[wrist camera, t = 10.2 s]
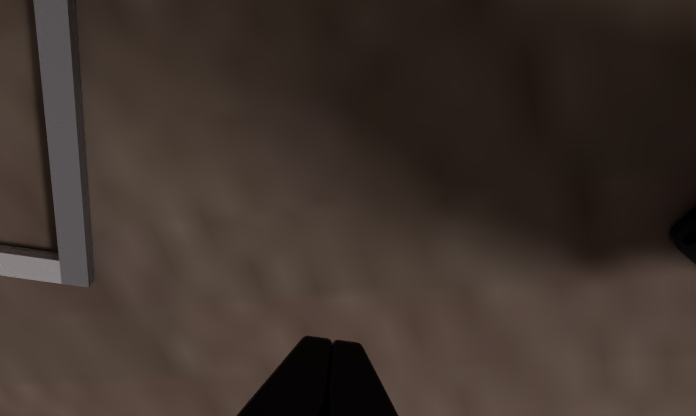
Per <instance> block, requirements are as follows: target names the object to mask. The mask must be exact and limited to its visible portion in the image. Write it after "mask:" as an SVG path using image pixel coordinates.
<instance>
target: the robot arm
mask: <svg viewBox="0 0 696 416" xmlns="http://www.w3.org/2000/svg"><path fill="white" fill-rule="evenodd" d="M688 232H693V233H692V235H691V236H690V237H688V238H686V239H682V237H683V236H684V234H686V233H688ZM669 236H670V239H671V241H672V242H673V243H674V245H675V246H676V247H677V249H679V250H680V251H681V252H682V253H684V254H685V255H686V256H687V257H688V258H690V259H691V260H692V261H693V262H695V263H696V207H695V208H694V209H692V210H691V211H690V212H689V213H688V214H686V215H685V216H684V217H683V218H682V219H680V220H679V221H678V222H677V223H676V224H675V225H674V226H673V227H672V228H671V230H670V233H669ZM237 416H398V414H397V412H396V410H395V408H394V406H393V404H392V402H391V400H390V398H389V397H388V395H387V393H386V391H385V389H384V387H383V385H382V383H381V381H380V379H379V377H378V375H377V373H376V371H375V369H374V368H373V366H372V364H371V362H370V360H369V358H368V356H367V354H366V352H365V350H364V348H363V347H362V345H361V344H360V343H357V342H350V341H343V340H335V341H334V342H333V344H332V342H331V340H330V339H328V338H321V337H313V336H305V337H303V338H302V339H301V340H300V341H299V343H298V344H297V345H296V346H295V347H294V349H293V350H292V351H291V352H290V353H289V354H288V356H287V357H286V358H285V359H284V360H283V361H282V363H281V364H280V365H279V366H278V367H277V369H276V370H275V371H274V372H273V373H272V374H271V376H270V377H269V378H268V379H267V380H266V381H265V383H264V384H263V385H262V386H261V387H260V389H259V390H258V391H257V392H256V393H255V394H254V396H253V397H252V398H251V399H250V400H249V401H248V403H247V404H246V405H245V406H244V407H243V409H242V410H241V411H240V412H239V413H238V414H237Z"/></svg>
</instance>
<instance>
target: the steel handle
mask: <svg viewBox="0 0 696 416" xmlns="http://www.w3.org/2000/svg"><path fill="white" fill-rule="evenodd" d="M33 1H34V11H35V21H36V31H37V41H38V51H39V61H40V71H41V82H42V92H43V102H44V112H45V122H46V132H47V142H48V152H49V162H50V172H51V182H52V192H53V202H54V212H55V222H56V233H57V243H58V253H57V252H50V251H43V250H36V249H29V248H22V247H15V246H7V245H0V275H2V276H9V277H16V278H24V279H31V280H38V281H45V282H52V283H60V284H67V285H74V286H81V287H88V288H89V287H90V285H91V284H92V282H93V281H94V268H93V254H92V239H91V225H90V210H89V196H88V182H87V167H86V153H85V139H84V124H83V110H82V95H81V81H80V67H79V52H78V38H77V23H76V9H75V0H33Z"/></svg>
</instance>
